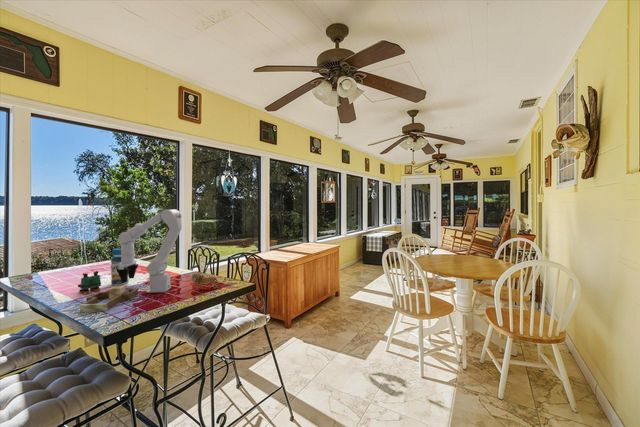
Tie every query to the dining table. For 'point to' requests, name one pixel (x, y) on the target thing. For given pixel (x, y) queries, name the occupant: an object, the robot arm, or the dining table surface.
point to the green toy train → (90, 283)
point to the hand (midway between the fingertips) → (127, 280)
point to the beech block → (116, 291)
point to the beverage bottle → (116, 267)
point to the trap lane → (94, 299)
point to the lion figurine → (204, 280)
